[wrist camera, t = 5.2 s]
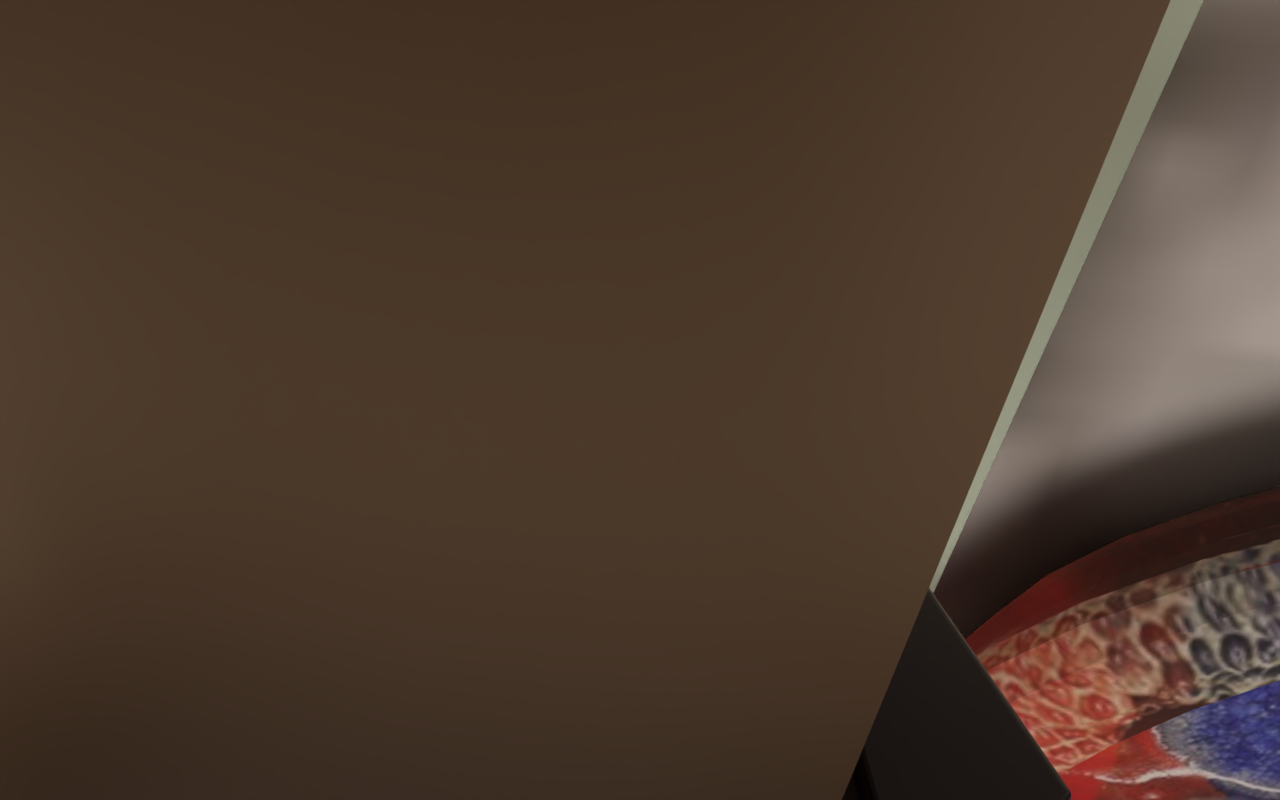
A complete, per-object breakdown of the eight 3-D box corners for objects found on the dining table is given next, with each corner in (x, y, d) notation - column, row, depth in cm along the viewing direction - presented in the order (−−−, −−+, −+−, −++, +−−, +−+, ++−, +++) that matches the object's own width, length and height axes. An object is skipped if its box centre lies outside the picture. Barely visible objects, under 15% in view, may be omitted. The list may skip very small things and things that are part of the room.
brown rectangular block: (668, 865, 13) (591, 1408, 9) (295, 778, 14) (55, 1276, 9) (1018, -347, 7) (1314, -357, 3) (273, -488, 7) (-600, -716, 3)
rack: (913, 604, 24) (924, 750, 20) (491, 503, 24) (437, 632, 21) (1233, -113, 16) (1332, -57, 13) (601, -257, 16) (543, -238, 13)
